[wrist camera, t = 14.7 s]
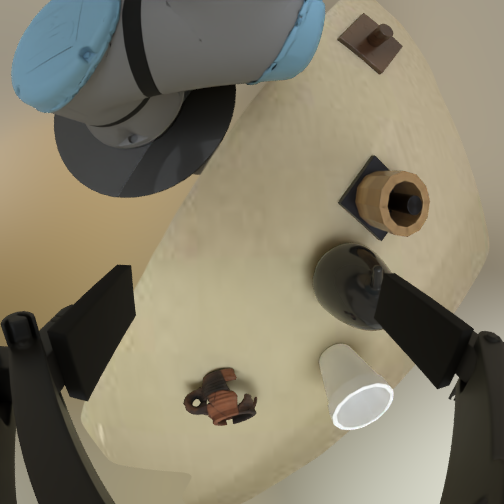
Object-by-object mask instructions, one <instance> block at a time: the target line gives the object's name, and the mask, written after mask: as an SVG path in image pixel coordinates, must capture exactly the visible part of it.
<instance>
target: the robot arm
mask: <svg viewBox="0 0 504 504" xmlns="http://www.w3.org/2000/svg"><path fill="white" fill-rule="evenodd" d="M324 19H325V4H324V3H323V2H322V0H51V1H50V2H49V3H48V4H47V5H46V6H45V7H44V8H43V9H42V10H41V11H40V12H39V13H38V14H37V15H36V16H35V18H34V19H33V20H32V22H31V24H30V25H29V27H28V28H27V29H26V31H25V32H24V34H23V36H22V38H21V40H20V42H19V44H18V46H17V49H16V52H15V55H14V59H13V63H12V75H11V76H12V84H13V88H14V91H15V93H16V95H17V96H18V97H19V98H20V99H21V100H22V101H23V102H24V103H26V104H28V105H30V106H32V107H34V108H36V109H37V110H38V111H40V112H44V113H46V112H48V113H53V114H56V115H60V116H63V117H66V118H69V119H72V120H76V121H79V122H82V123H85V124H86V126H87V127H88V129H89V130H90V132H91V133H92V134H93V135H94V136H95V137H96V138H97V139H98V140H99V141H101V142H102V143H104V144H106V145H108V146H111V147H115V148H120V149H134V148H139V147H142V146H145V145H148V144H150V143H152V142H154V141H155V140H157V139H159V138H160V137H161V136H163V135H164V134H165V133H166V132H167V131H168V130H169V129H170V128H171V127H172V125H173V124H174V123H175V121H176V120H177V118H178V117H179V115H180V113H181V110H182V108H183V105H184V101H185V92H186V90H192V89H199V88H206V87H214V86H222V85H232V84H244V83H246V84H247V85H254V84H258V83H260V82H264V81H277V80H287V79H290V78H293V77H295V76H296V75H297V74H299V73H300V72H302V71H303V70H304V69H305V68H306V67H307V66H308V64H309V63H310V61H311V60H312V58H313V56H314V54H315V52H316V50H317V47H318V44H319V41H320V38H321V35H322V30H323V26H324ZM135 316H136V312H135V303H134V294H133V283H132V270H131V265H116V266H115V267H114V268H113V269H112V270H111V271H110V272H108V273H107V274H106V275H105V276H104V277H103V278H102V279H101V280H100V281H98V282H97V283H96V284H95V285H94V286H93V287H92V288H91V289H90V290H89V291H88V292H86V293H85V294H84V295H83V296H82V297H81V298H80V299H79V300H78V301H77V302H76V303H75V304H74V305H69V306H67V307H65V308H63V309H61V310H60V311H59V312H58V313H57V314H56V315H55V317H53V318H52V319H51V320H50V321H49V322H48V323H47V324H46V325H45V326H44V327H43V328H42V329H41V330H40V331H39V330H38V326H37V323H36V319H35V316H34V314H32V313H30V312H25V311H22V312H16V313H13V314H10V315H8V316H7V317H5V318H4V319H3V320H2V322H1V327H2V330H3V333H4V336H5V339H6V341H7V345H8V347H4V346H0V504H17V501H16V490H15V489H16V488H15V433H16V428H17V433H18V438H19V442H20V446H21V450H22V454H23V458H24V462H25V465H26V469H27V472H28V475H29V478H30V482H31V484H32V487H33V490H34V493H35V496H36V498H37V501H38V503H39V504H115V503H114V501H113V499H112V498H111V496H110V495H109V493H108V491H107V490H106V488H105V486H104V485H103V483H102V481H101V480H100V478H99V476H98V474H97V472H96V471H95V469H94V467H93V465H92V463H91V461H90V459H89V457H88V455H87V453H86V452H85V449H84V447H83V445H82V443H81V441H80V439H79V436H78V434H77V432H76V430H75V427H74V425H73V422H72V420H71V418H70V415H69V412H68V410H67V407H66V404H65V402H64V399H63V397H62V394H61V390H62V388H63V387H64V385H65V386H66V389H67V391H68V393H69V396H70V397H73V398H77V399H80V400H84V401H88V400H89V398H90V396H91V394H92V392H93V390H94V388H95V386H96V385H97V383H98V381H99V379H100V377H101V375H102V373H103V372H104V370H105V368H106V366H107V364H108V363H109V361H110V359H111V357H112V355H113V354H114V352H115V350H116V348H117V347H118V345H119V343H120V341H121V340H122V338H123V336H124V334H125V333H126V331H127V329H128V328H129V326H130V324H131V323H132V321H133V319H134V318H135ZM374 319H375V320H376V321H377V322H378V324H379V325H380V326H381V327H382V328H383V329H384V330H385V331H386V332H387V333H388V334H389V335H390V336H391V338H392V339H393V340H394V341H395V342H396V343H397V344H398V345H399V346H400V347H401V349H402V350H403V351H404V352H405V353H406V354H407V355H408V356H409V357H410V359H411V360H412V361H413V362H414V363H415V364H416V365H417V366H418V368H419V369H420V370H421V371H422V372H423V373H424V374H425V376H426V377H427V378H428V379H429V380H430V381H431V382H432V384H433V385H434V386H435V387H436V388H437V389H439V388H443V387H446V386H449V385H450V383H451V381H452V379H453V377H454V374H457V376H458V377H459V379H458V381H457V383H456V385H455V387H454V389H453V391H452V393H451V394H450V396H449V399H451V398H452V396H454V395H455V398H454V400H455V414H454V427H453V437H452V445H451V452H450V458H449V464H448V470H447V475H446V480H445V484H444V489H443V493H442V497H441V501H440V504H504V342H503V341H502V340H501V338H500V337H499V336H497V335H496V334H495V333H492V332H488V331H481V332H480V333H479V334H477V333H475V332H474V331H473V330H474V329H473V328H472V327H471V326H469V325H468V324H467V323H465V322H464V321H463V320H461V319H460V318H458V317H457V316H456V315H454V314H453V313H452V312H450V311H449V310H447V309H446V308H445V307H443V306H442V305H440V304H439V303H438V302H436V301H435V300H433V299H432V298H431V297H429V296H428V295H426V294H425V293H423V292H422V291H420V290H419V289H417V288H416V287H415V286H413V285H412V284H410V283H409V282H407V281H406V280H404V279H403V278H401V277H400V276H398V275H397V274H395V273H384V275H383V280H382V285H381V289H380V294H379V298H378V303H377V307H376V311H375V315H374Z"/></svg>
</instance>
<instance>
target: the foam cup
mask: <svg viewBox="0 0 504 504" xmlns="http://www.w3.org/2000/svg"><path fill="white" fill-rule="evenodd" d="M319 365H320V370H321V374H322V378H323V382H324V386H325V390H326V395H327V399H328V403H329V404H328V409H329V414H330V416H331V418H332V421H333V423H334V425H335V426H337V427H338V428H340V429H345V430H353V429H357V428H361V427H364V426H367V425H368V424H370V423H372V422H374V421H375V420H377V419H378V418H379V417H380V416H382V415H383V413H385V412H386V411H387V410H388V408H389V406H390V404H391V403H392V401H393V389H392V388H391V387H390V385H389V384H388V382H387V381H386V380H385V379H384V378H383V377H382V376H381V375H379V374H377V373H376V372H375V371H374V370H373V369H372V368H371V367H370V366H369V365H368V364H367V363H366V362H365V361H364V360H363V359H362V358H361V357H360V356H359V355H358V354H357V353H356V352H355V351H354V350H353V349H352V348H351V347H349V346H348V345H346V344H342V343H341V344H335V345H332V346H331V347H329V348H327V349H326V350H325V351H324V352H323V353H322V354H321V357H320V360H319Z"/></svg>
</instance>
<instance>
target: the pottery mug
mask: <svg viewBox="0 0 504 504" xmlns="http://www.w3.org/2000/svg"><path fill="white" fill-rule="evenodd" d="M230 380H236V375H235V373H234V371H233V369H222V370H218V371H214V372H212V373H209V374H207V375H206V376H205V377H204V378H203V384H202V388H201V387H199V389H197V390H195V391H192V392H191V393H189V394H188V395H187V396H186V397H185V399H184V403H183V404H184V405H185V406H186V407H185V408H186V410H187V411H188V412H189V413H191V414H195V415H199V414H204V415H209V417H210V418H211V419H212V420H213V424H214V425H218V426H223V425H227V422H226V420H230V419H233V424H236V423H239V422H242V421H245V420H247V419H249V418H251V417H253V416H254V415H256V411H255V406H256V403H257V397H255V398H254V402H253V400H252V399H251V395H249V394H245V395H244V399H243V400H242V402H241V403H240V404H239V405H237V395H236V393H235V392H234V391H230V390H229V388H228V386H227V384H226V382H227V381H230ZM195 399H199V400H200V402H201V403H200V405H199V406H197V407H195V406H193V405H192V403H193V401H194V400H195ZM207 399H208V401H209V402H210V403H208V404H207Z"/></svg>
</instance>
